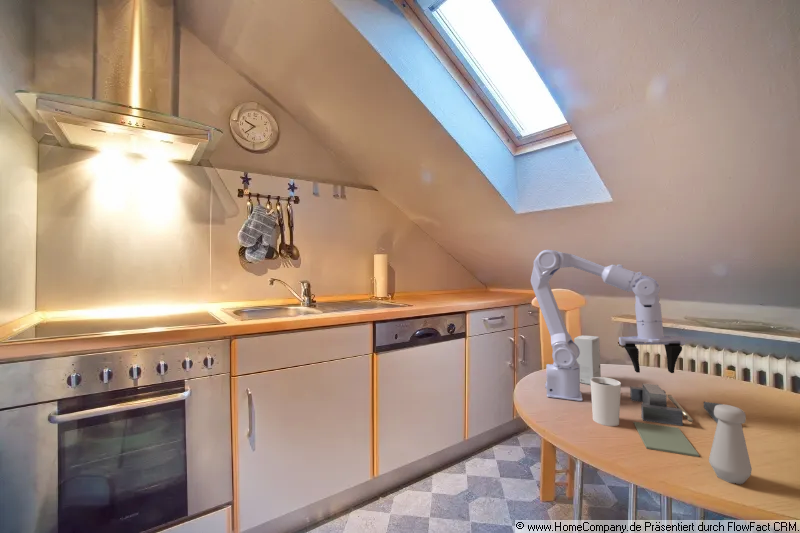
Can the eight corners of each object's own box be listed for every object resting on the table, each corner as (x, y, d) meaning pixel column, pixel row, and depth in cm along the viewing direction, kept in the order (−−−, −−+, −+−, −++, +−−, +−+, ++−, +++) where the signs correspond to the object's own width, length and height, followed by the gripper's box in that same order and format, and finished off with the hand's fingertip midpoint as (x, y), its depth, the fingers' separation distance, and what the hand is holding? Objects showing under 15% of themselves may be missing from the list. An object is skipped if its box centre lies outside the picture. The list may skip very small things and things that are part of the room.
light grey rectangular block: (649, 416, 92) (649, 393, 92) (642, 404, 99) (642, 383, 99) (666, 418, 90) (666, 394, 90) (658, 406, 98) (657, 385, 98)
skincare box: (593, 386, 114) (593, 340, 114) (573, 381, 119) (573, 337, 118) (601, 379, 120) (600, 336, 120) (582, 376, 125) (581, 333, 125)
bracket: (723, 411, 95) (723, 403, 95) (740, 429, 85) (740, 420, 85) (703, 409, 97) (703, 401, 97) (717, 425, 87) (717, 417, 87)
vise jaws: (643, 420, 89) (643, 406, 89) (630, 398, 104) (630, 386, 104) (693, 427, 85) (692, 412, 85) (672, 403, 100) (672, 390, 100)
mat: (646, 448, 76) (646, 446, 76) (633, 423, 88) (633, 421, 88) (699, 457, 72) (699, 455, 72) (678, 429, 84) (678, 427, 84)
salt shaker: (700, 469, 68) (699, 401, 68) (728, 467, 68) (727, 400, 68) (731, 488, 62) (730, 414, 62) (761, 486, 62) (760, 412, 62)
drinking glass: (624, 428, 85) (623, 386, 85) (593, 424, 87) (592, 384, 87) (617, 417, 91) (617, 378, 91) (588, 413, 93) (588, 376, 93)
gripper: (621, 323, 94) (626, 375, 93) (688, 322, 89) (693, 376, 89) (615, 320, 101) (620, 368, 100) (676, 318, 96) (682, 369, 95)
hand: (653, 371), depth 95 cm, fingers open, 7 cm apart
